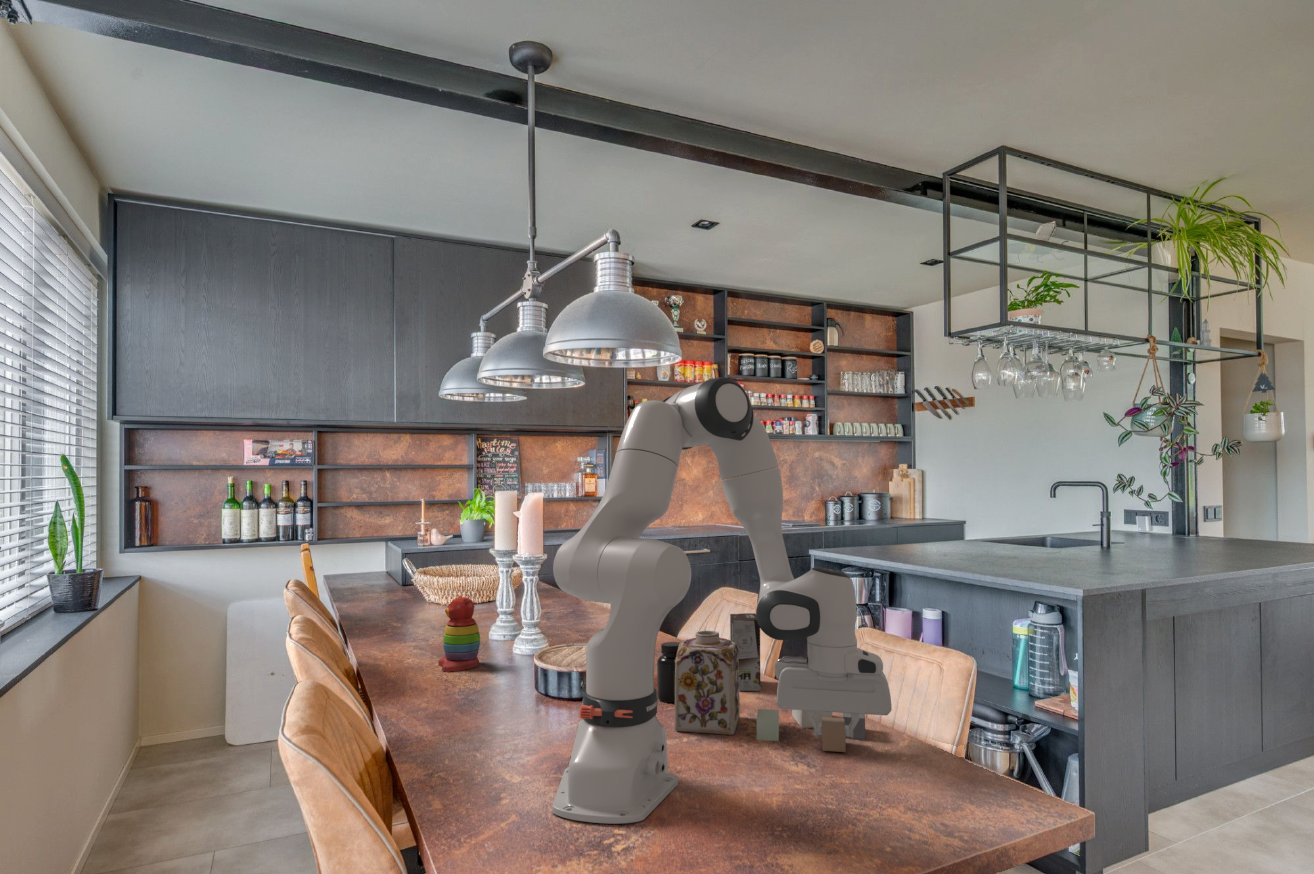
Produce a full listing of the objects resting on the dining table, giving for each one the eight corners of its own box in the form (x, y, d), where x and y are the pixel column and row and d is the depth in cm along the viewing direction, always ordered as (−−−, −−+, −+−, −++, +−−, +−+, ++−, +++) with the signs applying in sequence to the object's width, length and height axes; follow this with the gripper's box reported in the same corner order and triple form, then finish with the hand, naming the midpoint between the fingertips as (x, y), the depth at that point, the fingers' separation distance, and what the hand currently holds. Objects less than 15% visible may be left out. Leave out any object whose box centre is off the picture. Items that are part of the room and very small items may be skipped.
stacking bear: (436, 663, 197) (437, 595, 198) (475, 659, 201) (476, 592, 202) (443, 672, 187) (444, 601, 188) (483, 668, 191) (484, 598, 192)
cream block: (832, 728, 145) (831, 707, 145) (801, 728, 145) (801, 707, 145) (820, 715, 153) (820, 695, 153) (791, 715, 152) (791, 695, 153)
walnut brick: (845, 752, 131) (845, 728, 131) (822, 750, 131) (821, 727, 132) (844, 740, 136) (844, 718, 137) (822, 738, 137) (821, 716, 138)
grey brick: (865, 740, 138) (864, 718, 138) (843, 738, 139) (842, 716, 139) (865, 729, 144) (864, 708, 144) (843, 727, 145) (843, 707, 145)
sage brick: (778, 741, 137) (778, 719, 138) (756, 740, 138) (756, 718, 138) (779, 730, 143) (778, 709, 143) (758, 729, 144) (757, 708, 144)
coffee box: (761, 691, 169) (760, 619, 170) (733, 691, 169) (732, 619, 170) (757, 680, 178) (756, 612, 179) (730, 680, 178) (729, 612, 179)
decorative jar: (734, 736, 140) (733, 639, 141) (673, 732, 142) (673, 637, 143) (740, 716, 152) (739, 627, 153) (684, 712, 154) (683, 625, 155)
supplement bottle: (689, 694, 167) (688, 640, 167) (687, 703, 160) (687, 647, 161) (658, 694, 167) (658, 640, 168) (655, 703, 161) (655, 647, 161)
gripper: (773, 659, 134) (774, 737, 133) (891, 665, 130) (893, 746, 129) (775, 651, 140) (776, 726, 139) (888, 656, 136) (890, 734, 135)
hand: (833, 735), depth 134 cm, fingers closed on walnut brick, 4 cm apart
